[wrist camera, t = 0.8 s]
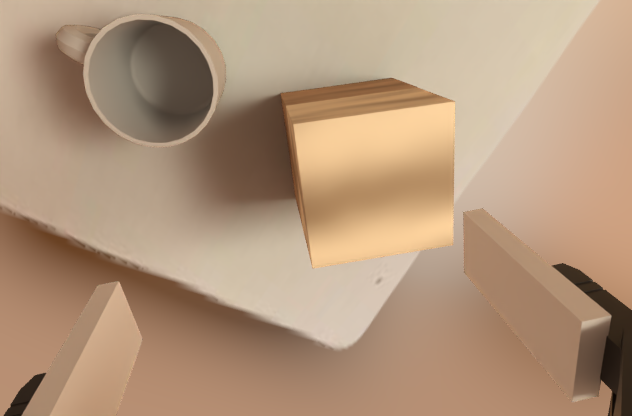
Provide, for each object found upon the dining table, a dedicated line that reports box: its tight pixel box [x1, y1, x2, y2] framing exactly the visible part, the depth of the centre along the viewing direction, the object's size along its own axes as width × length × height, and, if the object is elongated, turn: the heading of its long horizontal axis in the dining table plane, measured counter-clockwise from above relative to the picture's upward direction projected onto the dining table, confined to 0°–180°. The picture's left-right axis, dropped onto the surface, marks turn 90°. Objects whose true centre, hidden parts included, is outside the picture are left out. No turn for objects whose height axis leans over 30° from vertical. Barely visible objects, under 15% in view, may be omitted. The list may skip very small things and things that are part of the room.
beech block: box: [286, 88, 455, 268], centre depth 28 cm, size 9×9×6 cm
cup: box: [56, 14, 226, 147], centre depth 28 cm, size 7×10×9 cm
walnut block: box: [281, 78, 417, 222], centre depth 34 cm, size 9×9×6 cm
